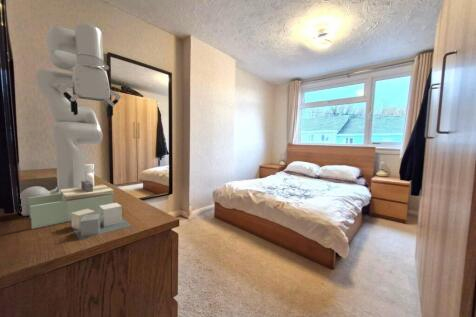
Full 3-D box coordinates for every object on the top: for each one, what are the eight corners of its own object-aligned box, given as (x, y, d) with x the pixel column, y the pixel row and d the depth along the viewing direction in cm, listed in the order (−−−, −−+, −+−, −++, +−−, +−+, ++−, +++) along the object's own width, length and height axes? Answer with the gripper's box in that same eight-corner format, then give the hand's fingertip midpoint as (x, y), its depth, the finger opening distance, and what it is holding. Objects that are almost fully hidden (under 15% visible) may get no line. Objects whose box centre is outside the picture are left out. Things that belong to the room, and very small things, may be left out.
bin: (29, 218, 63) (28, 197, 62) (103, 204, 77) (102, 187, 77) (32, 230, 55) (30, 206, 54) (113, 212, 69) (113, 193, 69)
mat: (70, 226, 58) (70, 225, 58) (117, 215, 66) (117, 214, 66) (79, 241, 50) (79, 239, 49) (132, 226, 58) (132, 225, 58)
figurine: (78, 207, 74) (77, 165, 73) (79, 200, 82) (77, 163, 80) (102, 203, 78) (101, 164, 77) (101, 197, 86) (100, 162, 85)
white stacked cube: (99, 222, 60) (99, 205, 60) (116, 218, 63) (116, 202, 63) (104, 227, 57) (103, 209, 57) (121, 222, 60) (121, 205, 60)
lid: (59, 192, 68) (59, 181, 68) (103, 186, 77) (103, 177, 77) (66, 200, 59) (65, 188, 59) (114, 193, 69) (113, 182, 68)
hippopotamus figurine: (71, 209, 72) (70, 184, 71) (19, 219, 62) (17, 190, 61) (67, 204, 76) (66, 181, 76) (18, 213, 67) (16, 186, 66)
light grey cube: (84, 229, 55) (84, 215, 55) (100, 227, 56) (100, 213, 56) (81, 236, 51) (80, 221, 51) (98, 234, 53) (97, 219, 52)
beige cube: (71, 226, 57) (71, 212, 56) (87, 221, 60) (87, 208, 60) (79, 230, 55) (78, 215, 54) (95, 224, 58) (95, 211, 58)
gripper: (116, 74, 78) (118, 119, 79) (55, 61, 66) (58, 114, 67) (122, 69, 73) (124, 117, 74) (58, 53, 61) (61, 112, 62)
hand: (93, 116), depth 70 cm, fingers open, 9 cm apart
